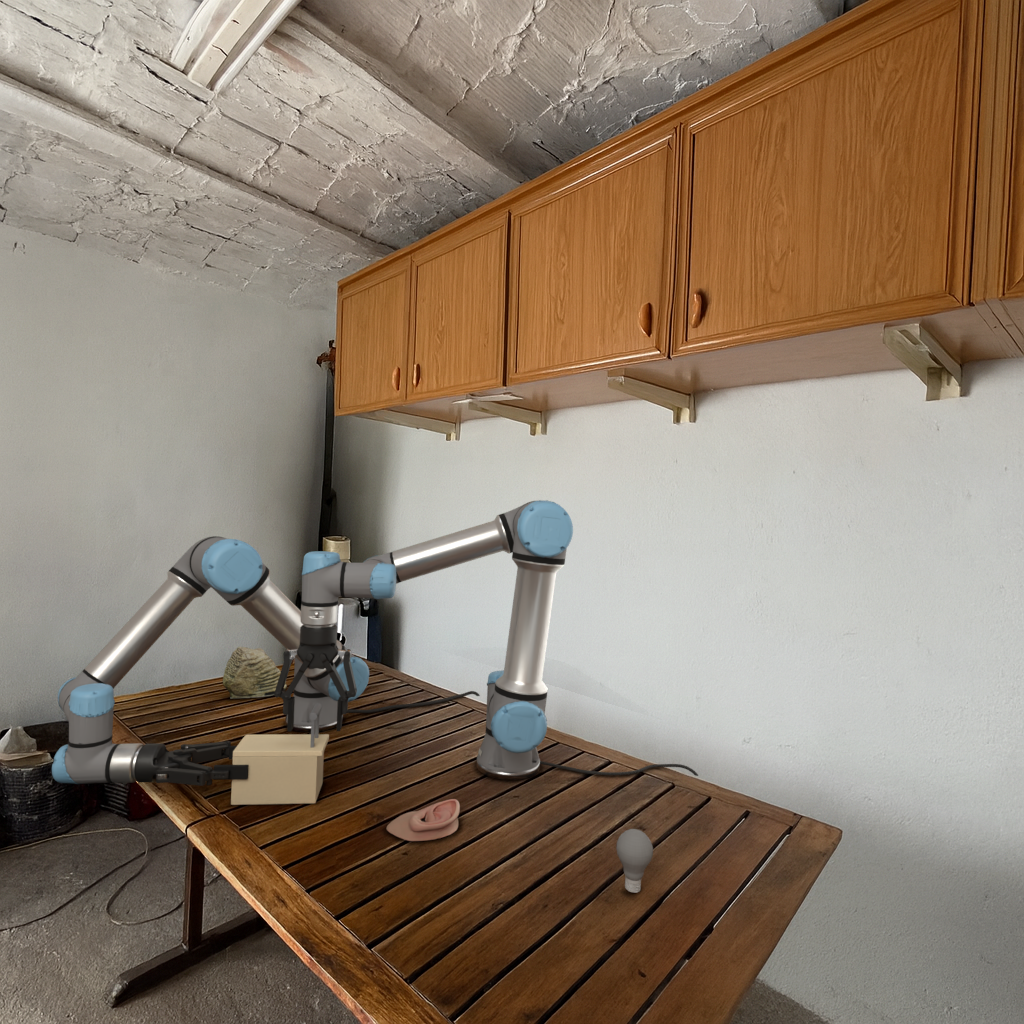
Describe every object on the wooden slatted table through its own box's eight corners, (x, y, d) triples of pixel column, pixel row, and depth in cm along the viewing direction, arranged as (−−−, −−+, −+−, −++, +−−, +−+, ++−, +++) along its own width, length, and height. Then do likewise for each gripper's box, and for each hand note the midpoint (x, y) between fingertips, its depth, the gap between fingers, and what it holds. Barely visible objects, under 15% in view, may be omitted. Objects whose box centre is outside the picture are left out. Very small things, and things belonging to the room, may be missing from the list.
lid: (329, 739, 140) (330, 700, 140) (322, 756, 131) (323, 715, 131) (245, 739, 138) (247, 700, 137) (232, 756, 128) (234, 715, 128)
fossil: (218, 695, 195) (220, 647, 195) (278, 685, 208) (279, 640, 207) (228, 703, 189) (230, 653, 188) (289, 692, 201) (290, 645, 201)
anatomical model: (380, 815, 119) (403, 788, 130) (379, 836, 119) (402, 808, 130) (448, 826, 116) (465, 797, 127) (447, 847, 116) (464, 817, 127)
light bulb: (610, 879, 108) (613, 822, 108) (644, 879, 109) (647, 822, 109) (619, 902, 102) (622, 840, 102) (655, 901, 103) (658, 840, 103)
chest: (322, 783, 140) (324, 739, 140) (315, 803, 131) (317, 756, 131) (243, 784, 138) (245, 739, 138) (230, 804, 129) (232, 756, 128)
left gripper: (162, 759, 141) (266, 758, 144) (114, 806, 120) (238, 804, 123) (163, 725, 141) (268, 725, 144) (115, 767, 120) (239, 766, 123)
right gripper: (260, 627, 129) (256, 735, 130) (370, 628, 132) (366, 735, 133) (269, 620, 137) (265, 722, 137) (373, 621, 140) (369, 722, 140)
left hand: (254, 761), depth 134 cm, fingers closed on chest, 9 cm apart
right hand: (314, 729), depth 135 cm, fingers open, 9 cm apart
